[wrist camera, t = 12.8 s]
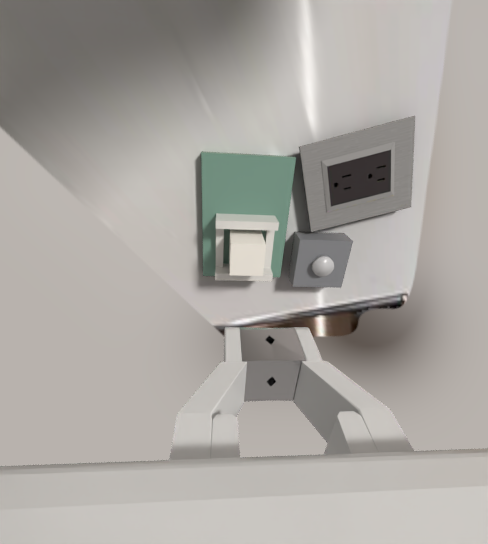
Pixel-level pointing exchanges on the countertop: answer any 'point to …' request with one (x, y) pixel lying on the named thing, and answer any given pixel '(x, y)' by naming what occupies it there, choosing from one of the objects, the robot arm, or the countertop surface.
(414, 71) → the countertop surface
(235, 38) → the countertop surface
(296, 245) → the grey push button
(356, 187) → the electrical outlet
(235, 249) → the plug
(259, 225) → the board
